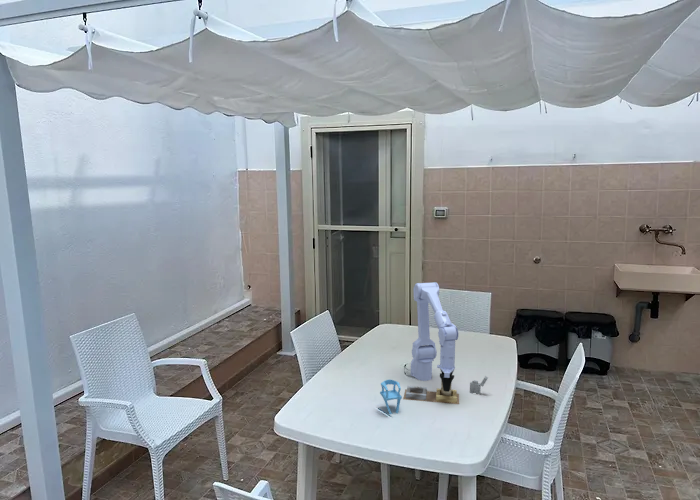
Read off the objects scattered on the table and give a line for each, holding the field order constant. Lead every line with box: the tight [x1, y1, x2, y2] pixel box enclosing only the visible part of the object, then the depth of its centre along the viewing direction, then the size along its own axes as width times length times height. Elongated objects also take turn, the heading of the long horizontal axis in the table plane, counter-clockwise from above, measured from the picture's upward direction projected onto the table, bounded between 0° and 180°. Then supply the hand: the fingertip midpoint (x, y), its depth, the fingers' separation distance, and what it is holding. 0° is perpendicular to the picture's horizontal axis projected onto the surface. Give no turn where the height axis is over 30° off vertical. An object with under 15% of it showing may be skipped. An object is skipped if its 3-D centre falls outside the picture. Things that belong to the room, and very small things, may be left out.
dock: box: [402, 385, 460, 405], centre depth 203 cm, size 22×10×3 cm, turn 79°
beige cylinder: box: [440, 379, 453, 396], centre depth 202 cm, size 4×4×8 cm
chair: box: [377, 379, 403, 418], centre depth 191 cm, size 8×8×12 cm
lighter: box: [469, 375, 489, 395], centre depth 208 cm, size 7×2×8 cm, turn 63°
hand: (446, 388), depth 202 cm, fingers open, 5 cm apart
